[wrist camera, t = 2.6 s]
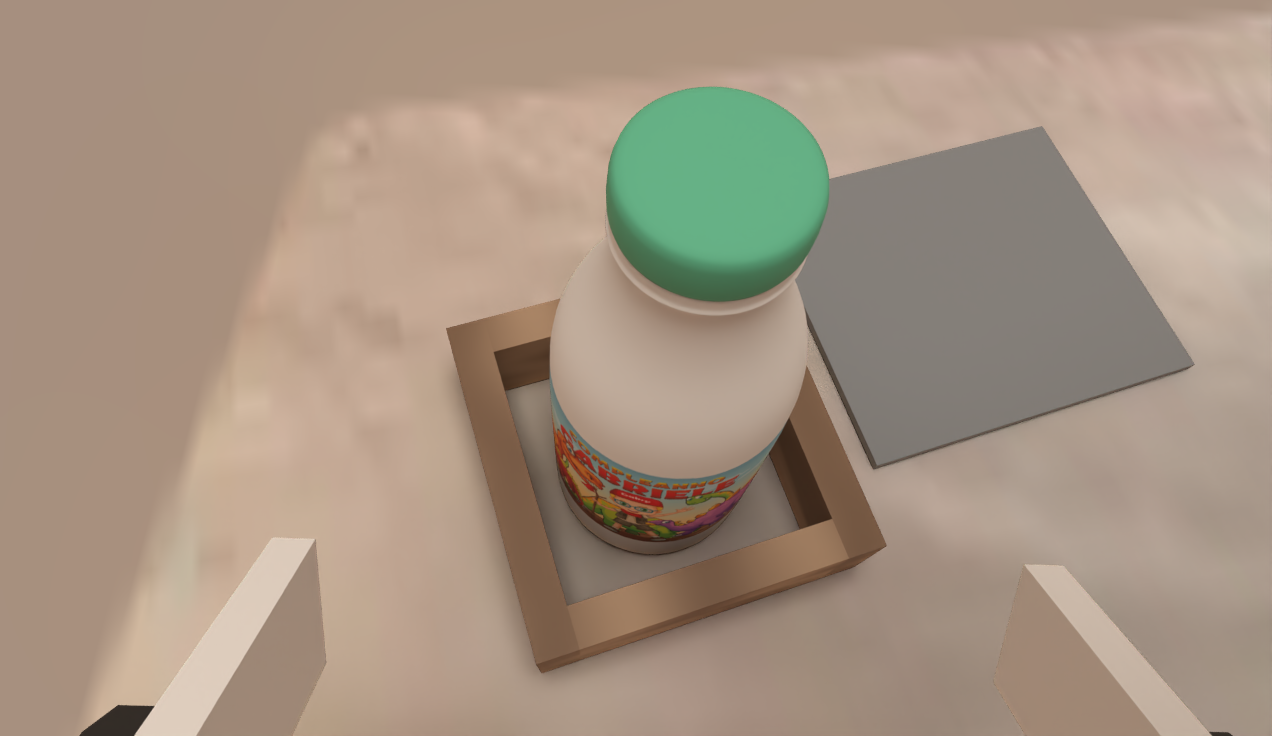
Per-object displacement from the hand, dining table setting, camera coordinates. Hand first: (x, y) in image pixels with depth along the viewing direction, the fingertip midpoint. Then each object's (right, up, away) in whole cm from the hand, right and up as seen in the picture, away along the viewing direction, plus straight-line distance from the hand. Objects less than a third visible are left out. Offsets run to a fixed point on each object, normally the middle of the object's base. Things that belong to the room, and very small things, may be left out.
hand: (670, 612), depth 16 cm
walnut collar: (0, +1, +19) cm, 19 cm away
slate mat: (+15, +9, +24) cm, 29 cm away
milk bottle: (0, 0, +20) cm, 20 cm away
